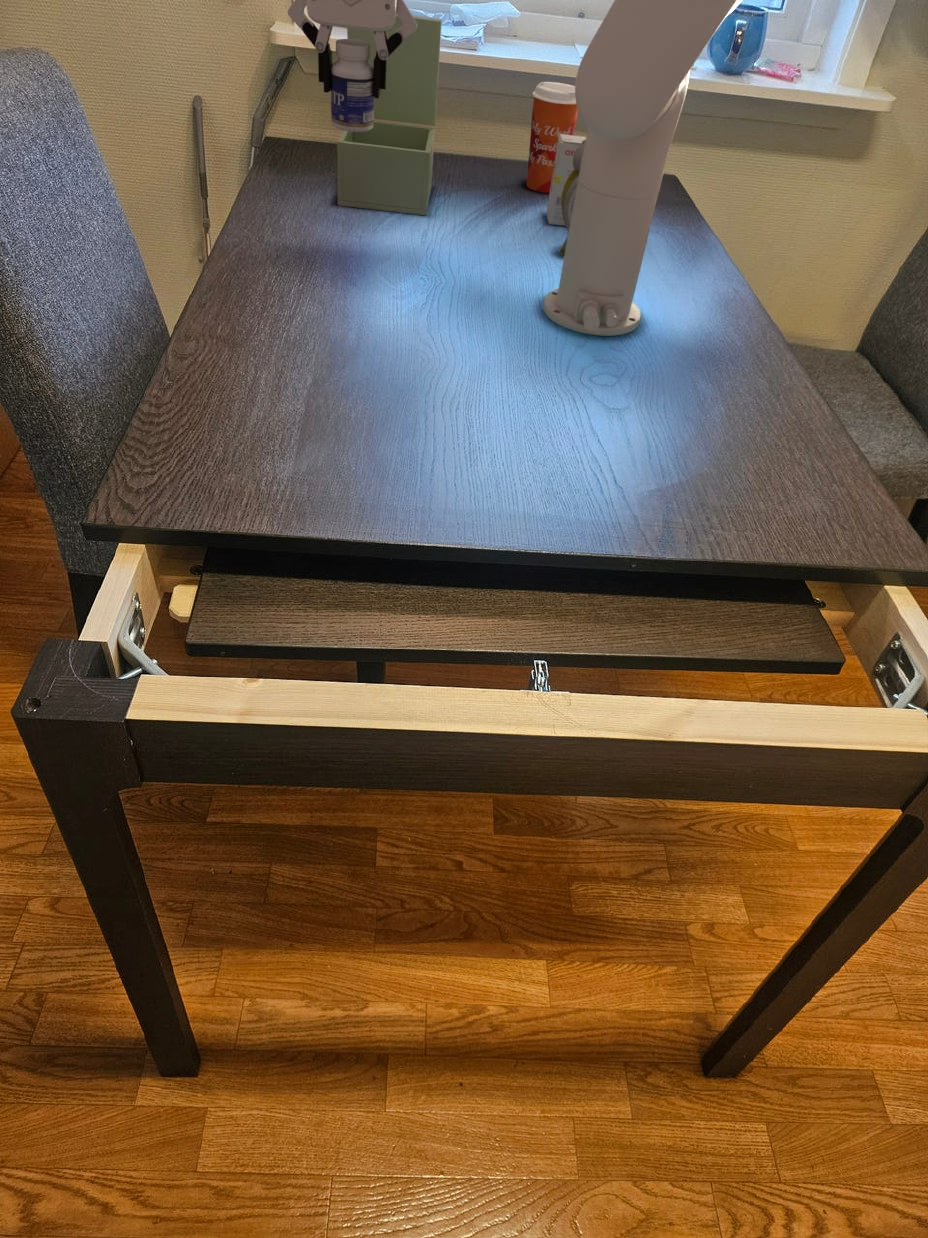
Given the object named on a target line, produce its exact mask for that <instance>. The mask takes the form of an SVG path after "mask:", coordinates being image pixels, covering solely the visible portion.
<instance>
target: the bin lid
mask: <svg viewBox="0 0 928 1238" xmlns="http://www.w3.org/2000/svg"><path fill="white" fill-rule="evenodd" d="M412 16H413V18H414V19H415V21H416V23H417V29H416V31H415V32H414V33H413V34H411V35H410V36H409V37H408V38H407V39H406V40H404V41H403V42H402V43H401V44H400V45H399V46H398V47H397V48H396V49H395V50H394V51H393V52H392V53H391V54H390V55H389V57H388V58H387V76H386V89H381V94H380V97H379V98H375V97H374V120H380V121H390V122H399V123H407V124H414V125H415V124H416V125H424V126H431V127H435V126H436V124H437V123H436V122H437V121H436V120H437V107H438V106H437V105H438V90H439V88H438V86H439V72H440V71H439V70H440V57H441V56H440V54H441V39H442V23H443V21H442V19H441V18H436V17H435V18H434V17H427V16H418V15H412ZM401 26H402V21H401V20H400V18H399V16H398V15H397V17H396V21H395V24H394V25H393V27H392V28H391V29H389V30H386V34H387V38H389V37H390V36H391V35H392V34H393V33H394V32H395V31H397V30H398V29H399V28H400V27H401ZM346 31H347V32H346V33H347V38H346V39H355V40H361V41H365V42H367V43H369V44H370V56H369V59H368V60H367V62H368V64H370V65H371V66H372V67H373V69H374V59H375V56H376V52H377V48H376V44H375V40H374V36H373V31H370V30H361V29H352V28H346Z"/></svg>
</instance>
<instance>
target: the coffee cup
mask: <svg viewBox="0 0 928 1238" xmlns="http://www.w3.org/2000/svg"><path fill="white" fill-rule="evenodd" d="M531 94H532V96H533V101H532V113H531V124H530V139H529V150H528V161H527V172H526V173H527V174H526V176H527V177H526V187H527V188H528V189H530V190H532V191H535V192H538V193H543V194H550V188H551V181H552V175H553V169H554V163H555V156H556V150H557V144H558V138H559V134H564V135H572V136H574V133H575V128H576V125H577V124H576V123H577V120H578V114H579V111H578V108H577V104H576V98H575V85H573V84H572V85H571V84H568V83H564V82H563V83H562V82H557V81H556V82H555V81H540V82H539V83H537V84H536V86H535V88H534V91H532V93H531Z"/></svg>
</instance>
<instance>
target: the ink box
mask: <svg viewBox="0 0 928 1238" xmlns="http://www.w3.org/2000/svg"><path fill="white" fill-rule="evenodd" d="M586 137H587V136H581V135H573V136H572V135H564V134H559V138H558V144H557V150H556V156H555V163H554V169H553V175H552V181H551V188H550V193H548V201H547V208H546V219H547V223H548V225H553V226H564V227H566V226H565V223H564V220H563V214H562V207H561V199H562V192H563V188H564V185H565V183H566V181H567V179H568V177H569V176H570V174H571V173H572V171H573V170H574V168H573V155H574V153H575V151H576V149H577V147H578V146H579V145H580V144H581V143H582V141H583V140H586Z"/></svg>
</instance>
